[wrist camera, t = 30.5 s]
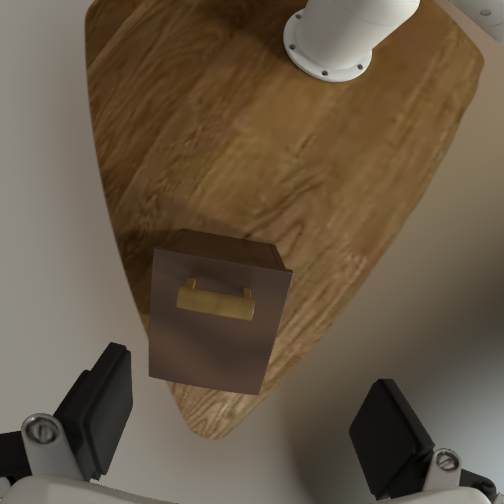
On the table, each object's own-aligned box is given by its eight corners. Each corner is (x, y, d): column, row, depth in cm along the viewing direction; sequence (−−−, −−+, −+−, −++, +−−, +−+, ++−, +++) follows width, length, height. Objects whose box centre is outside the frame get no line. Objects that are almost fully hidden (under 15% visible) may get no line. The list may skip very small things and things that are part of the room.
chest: (181, 228, 39) (158, 250, 27) (275, 245, 40) (288, 274, 28) (170, 324, 42) (150, 372, 31) (254, 339, 43) (258, 390, 32)
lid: (156, 245, 26) (138, 264, 21) (292, 269, 27) (301, 293, 22) (150, 372, 31) (139, 401, 26) (258, 390, 32) (260, 422, 27)
